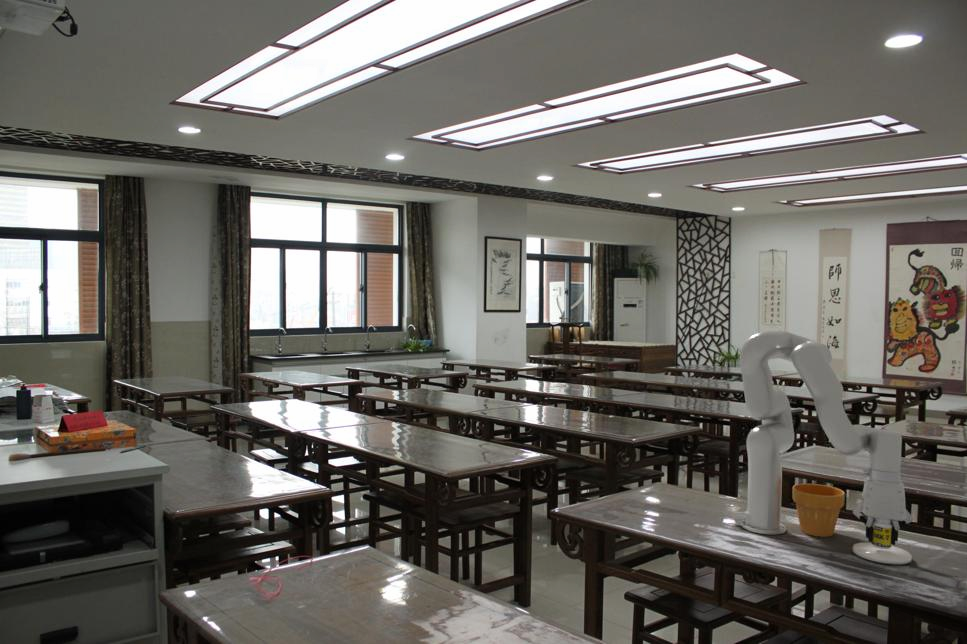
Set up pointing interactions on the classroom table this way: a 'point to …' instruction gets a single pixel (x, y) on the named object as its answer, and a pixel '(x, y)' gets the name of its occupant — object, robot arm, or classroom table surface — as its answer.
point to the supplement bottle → (882, 533)
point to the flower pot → (818, 508)
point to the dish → (882, 554)
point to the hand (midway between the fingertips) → (881, 541)
